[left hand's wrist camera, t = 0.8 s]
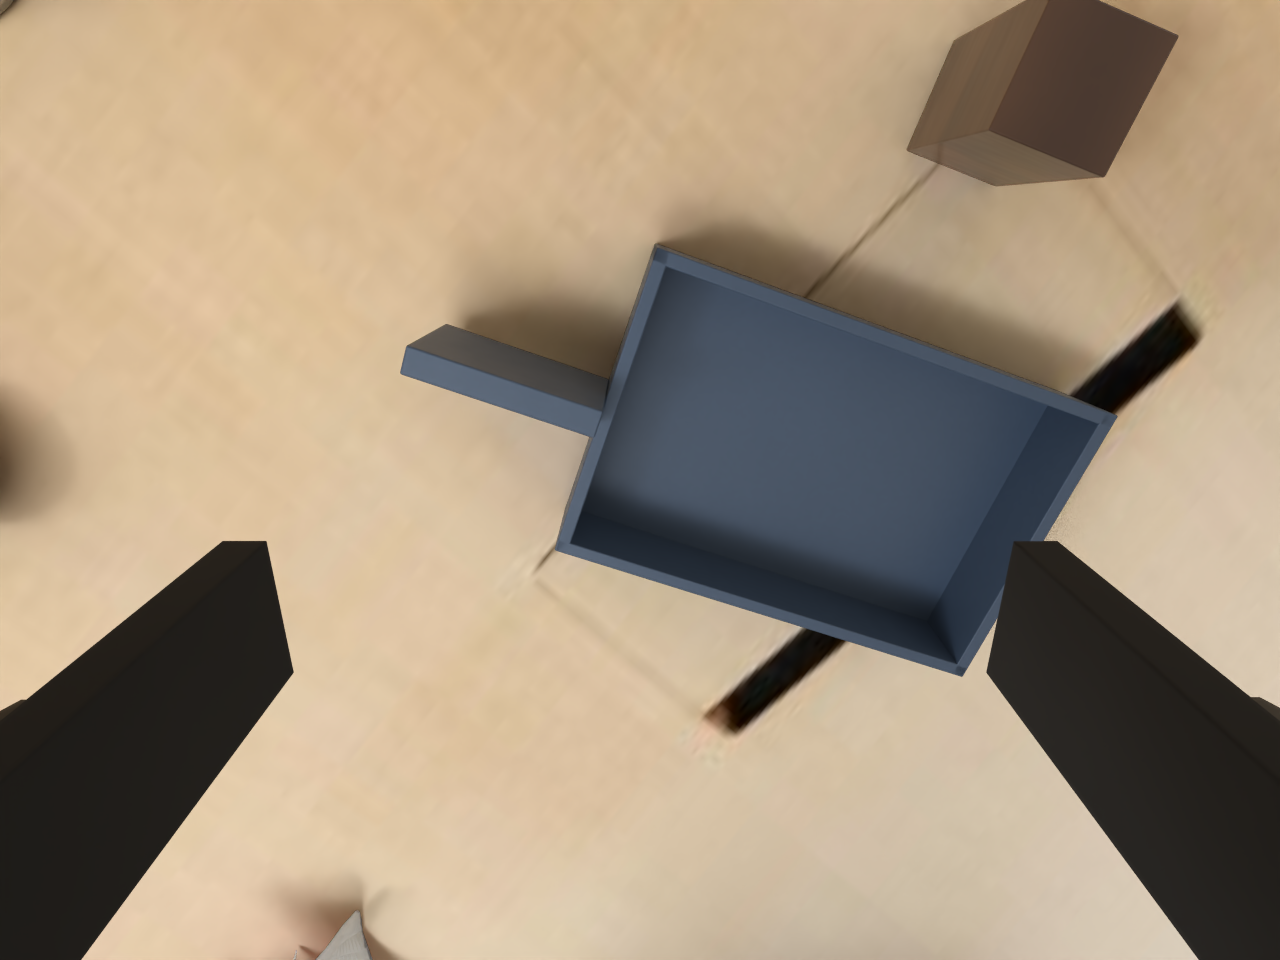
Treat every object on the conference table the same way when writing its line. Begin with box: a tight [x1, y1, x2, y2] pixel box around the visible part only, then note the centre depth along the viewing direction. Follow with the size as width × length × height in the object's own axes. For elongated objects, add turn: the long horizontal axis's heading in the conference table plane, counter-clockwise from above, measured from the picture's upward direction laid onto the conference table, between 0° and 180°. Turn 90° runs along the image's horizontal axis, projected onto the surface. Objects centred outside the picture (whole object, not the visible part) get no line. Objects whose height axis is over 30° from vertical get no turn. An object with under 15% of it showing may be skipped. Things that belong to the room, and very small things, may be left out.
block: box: [907, 0, 1178, 186], centre depth 27 cm, size 4×4×8 cm
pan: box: [400, 244, 1117, 677], centre depth 33 cm, size 29×14×7 cm, turn 71°
